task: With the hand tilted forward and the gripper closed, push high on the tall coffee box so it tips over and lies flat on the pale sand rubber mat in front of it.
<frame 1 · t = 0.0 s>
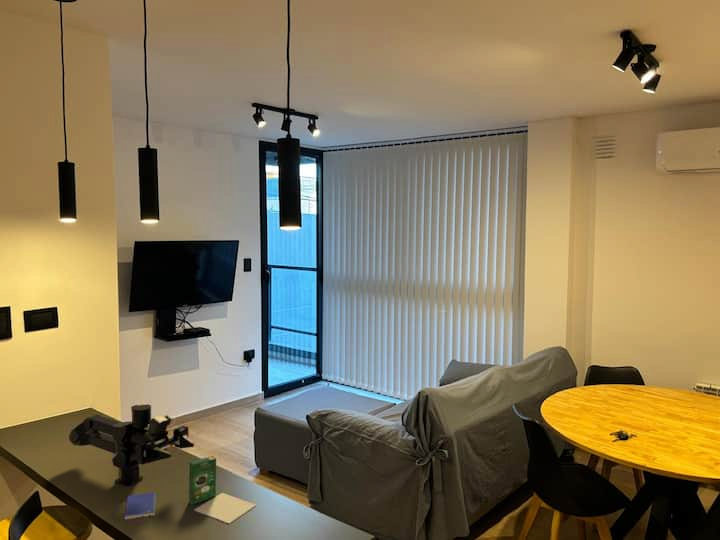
hand: (182, 450, 171), 17 cm above the breakfast bar, tool horizontal, fingers open, 9 cm apart
coffee box: (202, 500, 174), on the breakfast bar
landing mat: (225, 508, 169), on the breakfast bar
hard drive: (140, 508, 169), on the breakfast bar
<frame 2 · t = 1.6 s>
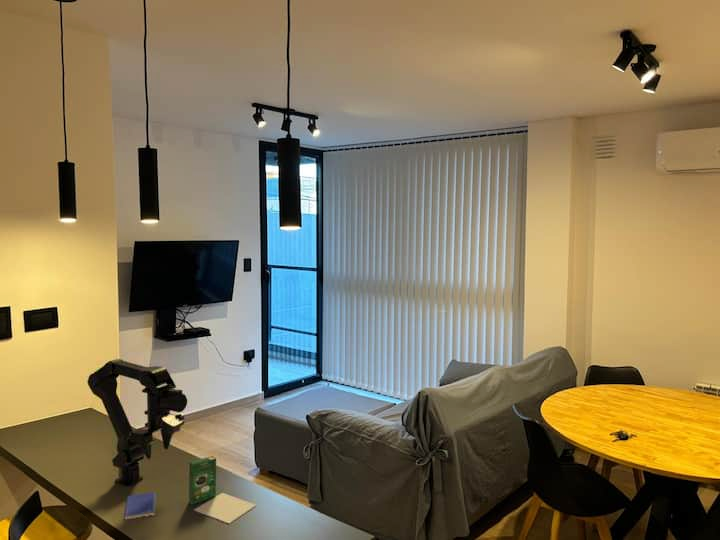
hand: (157, 453, 178), 12 cm above the breakfast bar, tool pointing down, fingers open, 8 cm apart
nothing on the breakfast bar moved.
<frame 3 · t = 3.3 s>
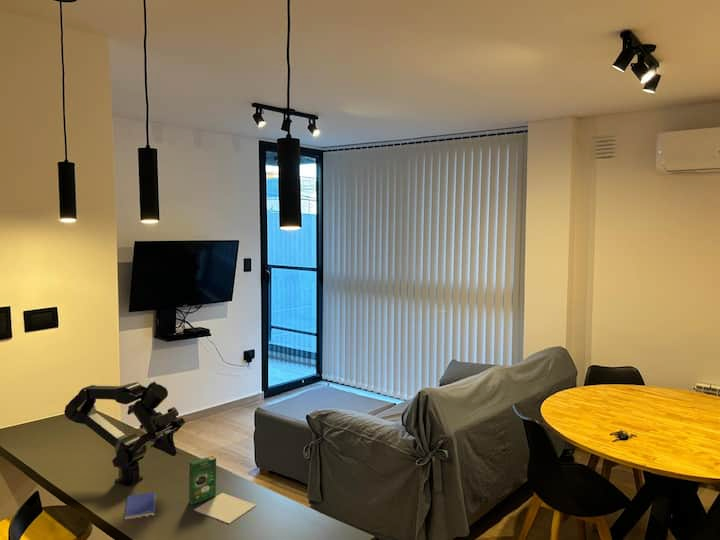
hand: (175, 455, 177), 12 cm above the breakfast bar, tool tilted 45°, fingers closed
nothing on the breakfast bar moved.
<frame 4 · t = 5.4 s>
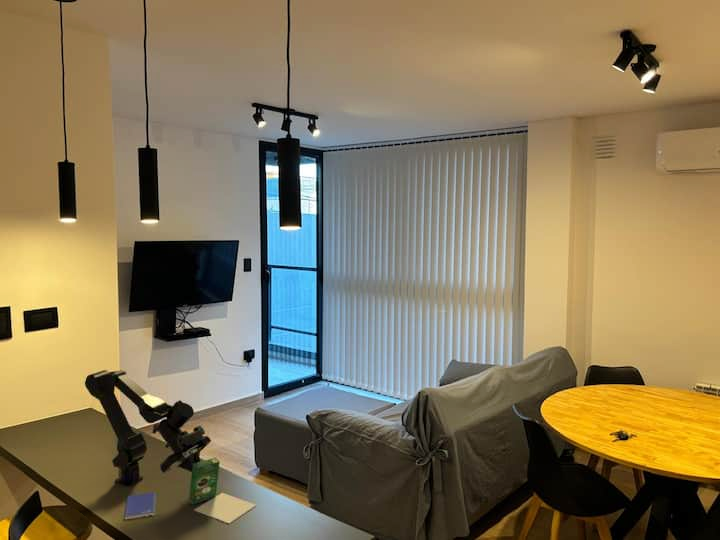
hand: (202, 475, 173), 8 cm above the breakfast bar, tool tilted 45°, fingers closed
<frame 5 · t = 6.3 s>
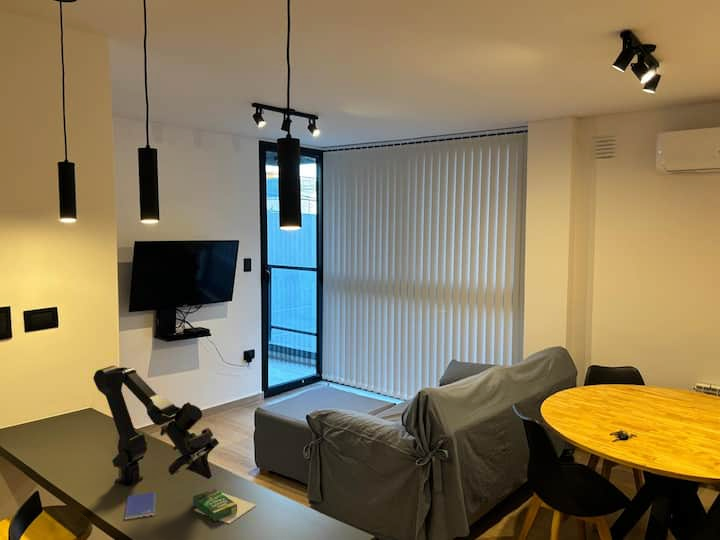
hand: (210, 477, 172), 8 cm above the breakfast bar, tool tilted 45°, fingers closed
coffee box: (204, 495, 173), point 2 cm above the breakfast bar, touching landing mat
everything else where it was.
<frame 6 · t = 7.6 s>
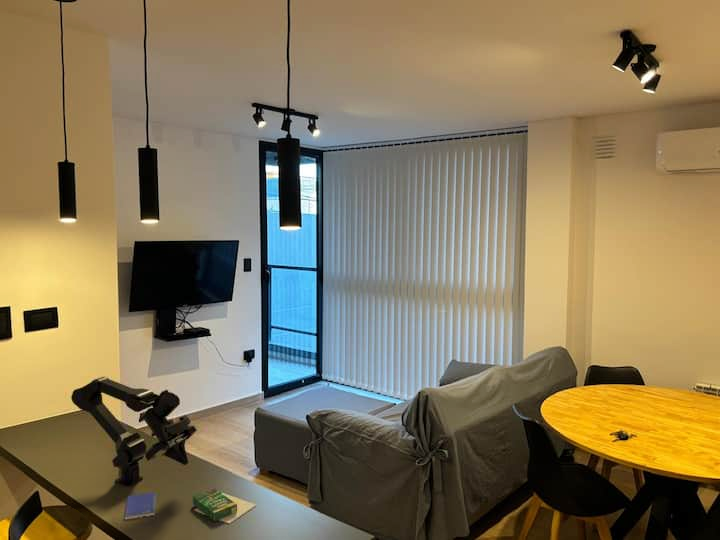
hand: (186, 464, 175), 10 cm above the breakfast bar, tool tilted 45°, fingers closed
nothing on the breakfast bar moved.
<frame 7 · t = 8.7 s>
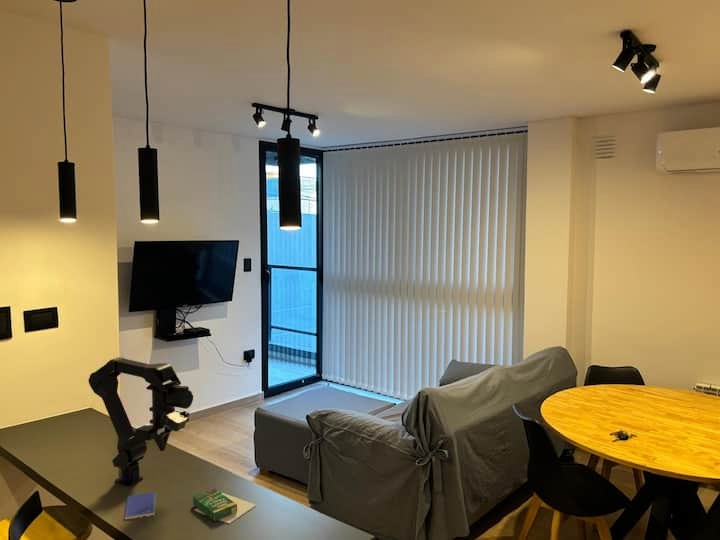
hand: (162, 450, 179), 13 cm above the breakfast bar, tool pointing down, fingers closed
nothing on the breakfast bar moved.
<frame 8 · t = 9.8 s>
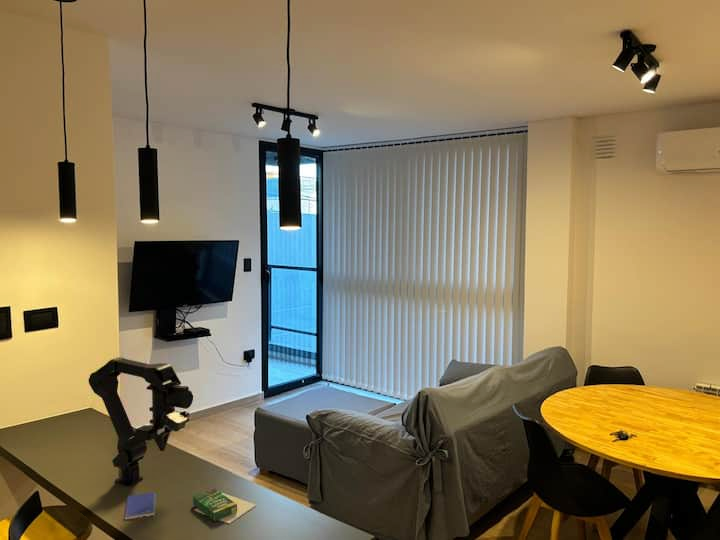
hand: (162, 450, 179), 13 cm above the breakfast bar, tool pointing down, fingers closed
nothing on the breakfast bar moved.
at the end: coffee box tilted 90°; coffee box touching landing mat; hard drive moved 0.8 cm from its start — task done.
